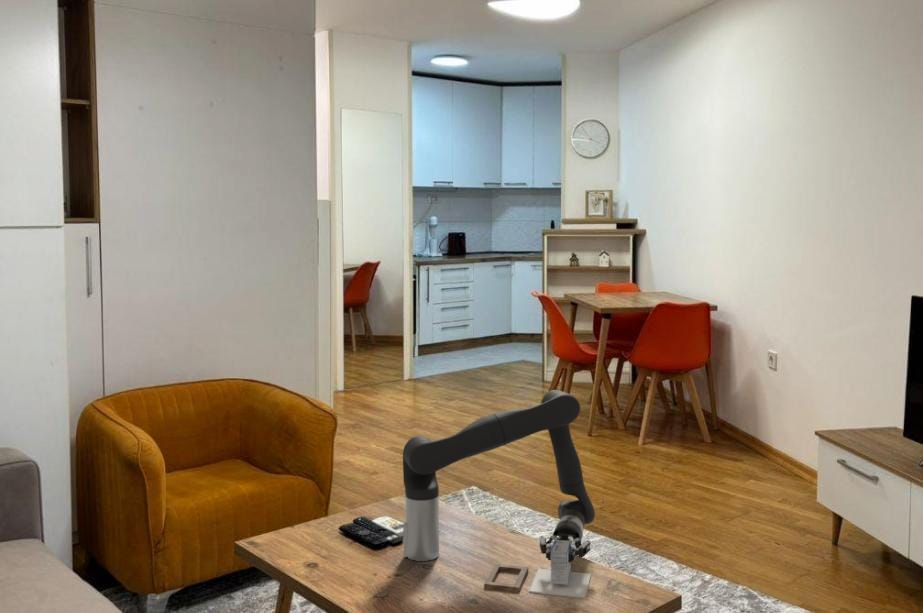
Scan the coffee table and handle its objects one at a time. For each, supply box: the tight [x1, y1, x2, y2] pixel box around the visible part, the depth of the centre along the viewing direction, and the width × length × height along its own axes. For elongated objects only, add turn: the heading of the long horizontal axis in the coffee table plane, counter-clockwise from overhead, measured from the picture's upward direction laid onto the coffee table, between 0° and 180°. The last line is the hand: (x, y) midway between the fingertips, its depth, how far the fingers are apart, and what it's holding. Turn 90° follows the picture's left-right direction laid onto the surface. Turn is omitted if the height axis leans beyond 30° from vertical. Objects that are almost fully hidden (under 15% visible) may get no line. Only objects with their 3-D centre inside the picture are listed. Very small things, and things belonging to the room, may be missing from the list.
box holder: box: [483, 563, 529, 593], centre depth 226 cm, size 9×13×1 cm
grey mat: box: [528, 568, 592, 599], centre depth 223 cm, size 14×14×1 cm
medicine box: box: [550, 540, 572, 585], centre depth 223 cm, size 8×4×9 cm, turn 168°
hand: (559, 557), depth 220 cm, fingers closed on medicine box, 4 cm apart
